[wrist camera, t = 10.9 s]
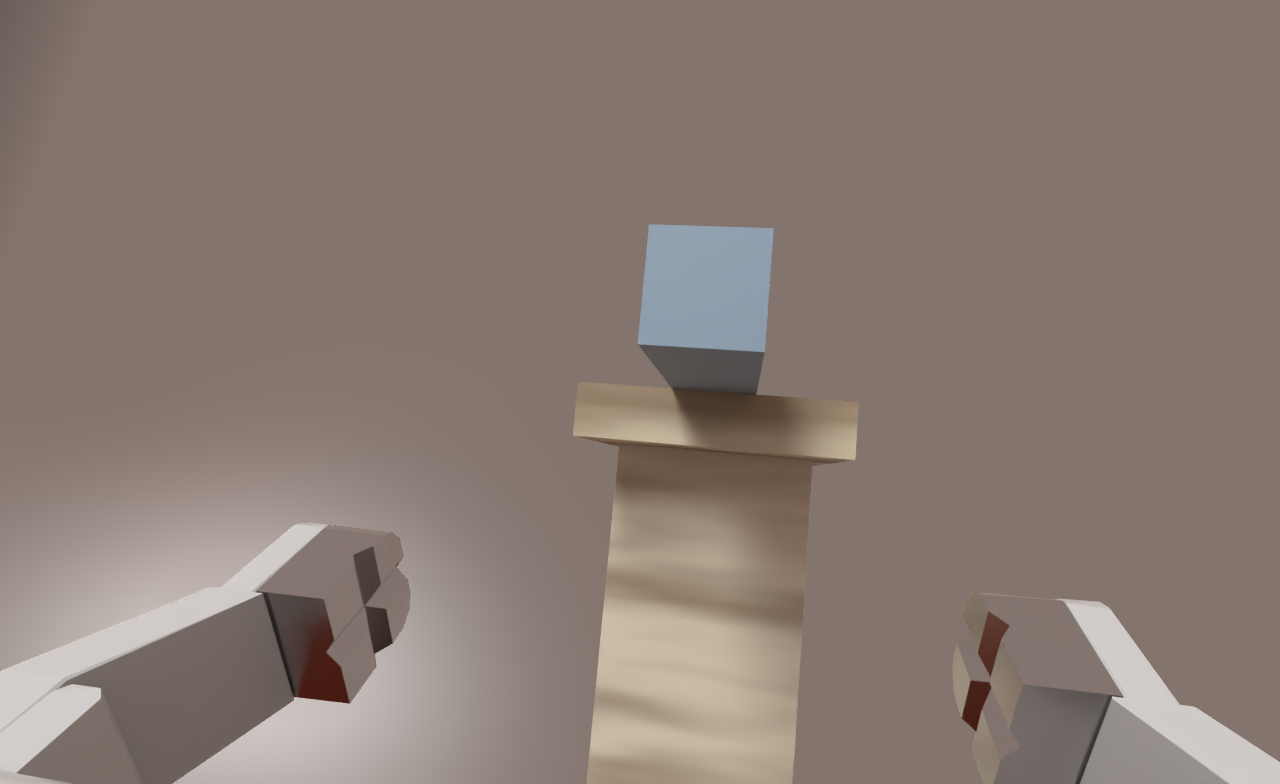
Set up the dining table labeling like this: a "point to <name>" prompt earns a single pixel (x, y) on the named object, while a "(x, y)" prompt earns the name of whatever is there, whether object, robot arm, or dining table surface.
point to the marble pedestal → (705, 579)
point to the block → (706, 305)
